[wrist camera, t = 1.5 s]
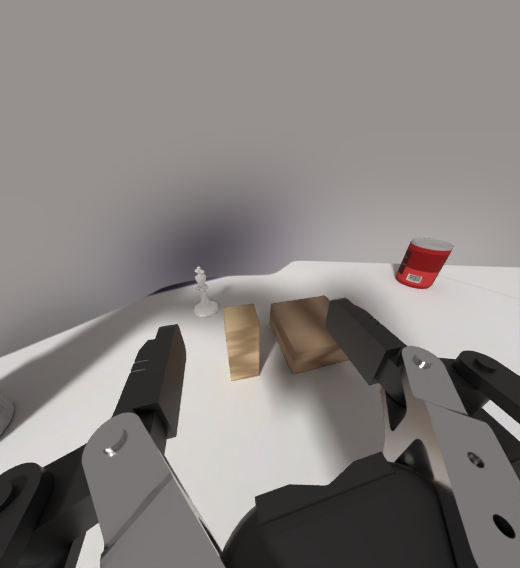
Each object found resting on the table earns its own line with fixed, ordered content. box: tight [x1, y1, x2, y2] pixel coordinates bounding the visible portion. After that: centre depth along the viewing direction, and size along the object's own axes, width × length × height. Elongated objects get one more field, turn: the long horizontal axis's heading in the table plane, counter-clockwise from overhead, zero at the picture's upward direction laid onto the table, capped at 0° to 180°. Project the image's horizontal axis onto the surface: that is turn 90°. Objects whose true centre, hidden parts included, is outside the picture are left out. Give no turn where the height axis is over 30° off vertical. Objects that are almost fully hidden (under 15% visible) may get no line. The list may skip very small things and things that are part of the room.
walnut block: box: [270, 296, 350, 374], centre depth 32 cm, size 11×11×5 cm
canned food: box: [396, 238, 454, 289], centre depth 47 cm, size 8×8×11 cm
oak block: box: [223, 304, 260, 381], centre depth 26 cm, size 4×4×10 cm
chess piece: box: [194, 267, 218, 317], centre depth 37 cm, size 5×5×10 cm
